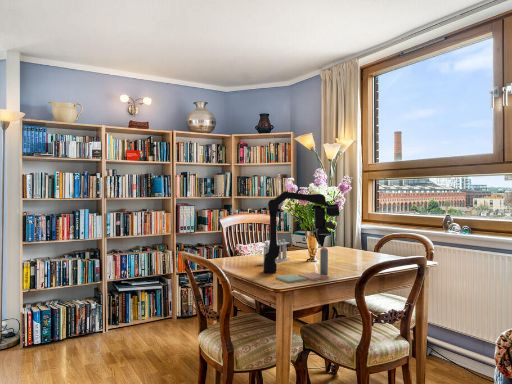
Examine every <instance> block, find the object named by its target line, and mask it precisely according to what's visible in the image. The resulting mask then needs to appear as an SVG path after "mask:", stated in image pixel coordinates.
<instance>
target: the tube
mask: <svg viewBox="0 0 512 384" xmlns="http://www.w3.org/2000/svg"><path fill="white" fill-rule="evenodd" d="M319 253H320V255H319V257H320V258H319V259H320V261H319V262H320V263H319V264H320V265H319V270H320V272H319V274H323V275H326V276H328V275H329V274H328V273H329V271H328V270H329V269H328V268H329V250H328V248H327V247H324V246H323V247H321V248H320V250H319Z"/></svg>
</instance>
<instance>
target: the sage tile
mask: <svg viewBox="0 0 512 384" xmlns="http://www.w3.org/2000/svg"><path fill="white" fill-rule="evenodd" d="M275 280H279V281H280V282H281V281H282V282H283V283H287V284H292V283H298V282H305V281H307V279H306V278H303V277H300V276H298V275H296V274H285V275H279V276H275Z"/></svg>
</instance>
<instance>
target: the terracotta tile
mask: <svg viewBox="0 0 512 384" xmlns="http://www.w3.org/2000/svg"><path fill="white" fill-rule="evenodd" d="M297 276H300V277H303V278H306V280H308V281H312V282H313V281H318V280H324V279H329V277H330V276H329V275H323V274H320V272H315V271H314V272H306V273H300V274H298V275H297Z"/></svg>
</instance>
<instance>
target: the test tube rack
mask: <svg viewBox="0 0 512 384" xmlns="http://www.w3.org/2000/svg"><path fill="white" fill-rule="evenodd" d="M277 241H278V242H277V245H278V244H279V245H280V249H279V252H280V253H279V256H278V257H277V258H276V259H275V263H276V264H278V263H281V262H282V263H283V262H285V261H289V260H291V259H290V258H288V257H287V245H288V244H290V242H288V241H286V239H284V238H283V239H279V240H277ZM264 244H265V245H261V246H260V248H263V256H264V255H266V254H267V253H268V247H269V242H267V241H266V242H265V243H264ZM264 260H265V259H264V258H263V261H264ZM259 265H260V266H261V265H262V266H264V262H261V263H260V264H259Z"/></svg>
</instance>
